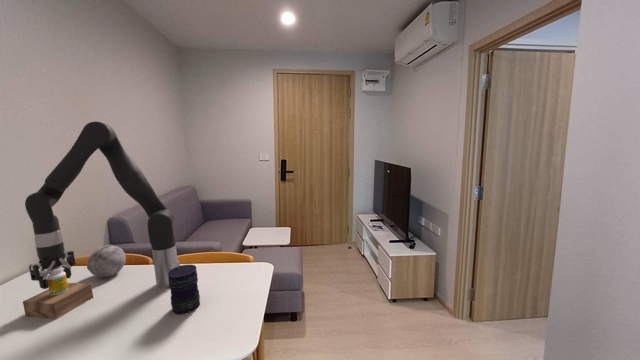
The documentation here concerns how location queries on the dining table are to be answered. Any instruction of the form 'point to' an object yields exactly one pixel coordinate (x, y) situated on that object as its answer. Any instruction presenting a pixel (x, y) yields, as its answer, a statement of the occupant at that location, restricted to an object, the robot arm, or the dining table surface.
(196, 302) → the storage jar
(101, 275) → the decorative orb
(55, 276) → the supplement bottle
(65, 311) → the walnut block
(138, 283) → the dining table surface
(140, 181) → the robot arm
